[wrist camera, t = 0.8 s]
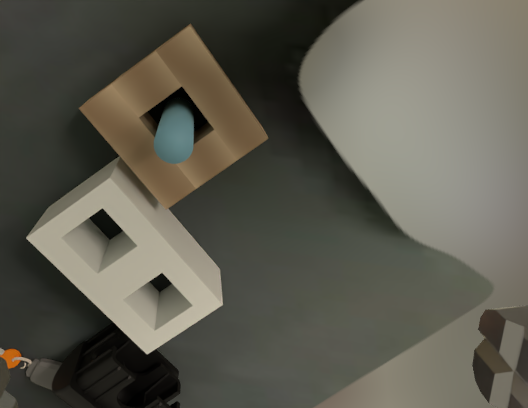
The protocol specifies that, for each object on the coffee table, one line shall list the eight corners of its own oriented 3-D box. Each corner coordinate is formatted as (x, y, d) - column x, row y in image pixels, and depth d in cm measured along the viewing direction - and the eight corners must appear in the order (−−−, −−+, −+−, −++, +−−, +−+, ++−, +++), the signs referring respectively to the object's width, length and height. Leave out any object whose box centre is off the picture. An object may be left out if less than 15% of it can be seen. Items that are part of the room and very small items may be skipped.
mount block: (190, 23, 38) (189, 25, 34) (262, 126, 42) (268, 138, 38) (89, 98, 39) (78, 108, 35) (168, 192, 43) (166, 209, 39)
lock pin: (181, 91, 40) (177, 118, 30) (200, 116, 41) (201, 149, 31) (157, 109, 40) (145, 140, 31) (176, 133, 41) (170, 171, 32)
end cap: (61, 352, 48) (41, 405, 41) (117, 313, 47) (105, 360, 41) (131, 410, 51) (122, 466, 45) (184, 374, 51) (182, 426, 44)
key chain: (100, 367, 49) (97, 377, 48) (85, 394, 50) (82, 405, 49) (-33, 323, 46) (-39, 333, 44) (-46, 353, 47) (-53, 363, 45)
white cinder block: (121, 154, 41) (109, 177, 35) (219, 268, 46) (223, 304, 41) (48, 207, 42) (25, 238, 36) (152, 313, 47) (147, 354, 42)
